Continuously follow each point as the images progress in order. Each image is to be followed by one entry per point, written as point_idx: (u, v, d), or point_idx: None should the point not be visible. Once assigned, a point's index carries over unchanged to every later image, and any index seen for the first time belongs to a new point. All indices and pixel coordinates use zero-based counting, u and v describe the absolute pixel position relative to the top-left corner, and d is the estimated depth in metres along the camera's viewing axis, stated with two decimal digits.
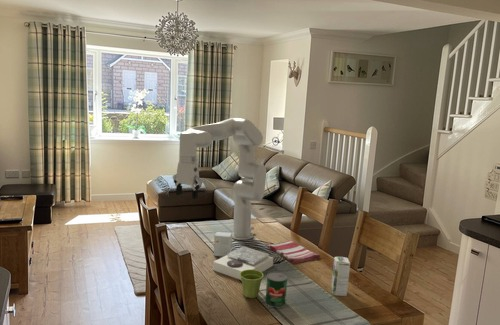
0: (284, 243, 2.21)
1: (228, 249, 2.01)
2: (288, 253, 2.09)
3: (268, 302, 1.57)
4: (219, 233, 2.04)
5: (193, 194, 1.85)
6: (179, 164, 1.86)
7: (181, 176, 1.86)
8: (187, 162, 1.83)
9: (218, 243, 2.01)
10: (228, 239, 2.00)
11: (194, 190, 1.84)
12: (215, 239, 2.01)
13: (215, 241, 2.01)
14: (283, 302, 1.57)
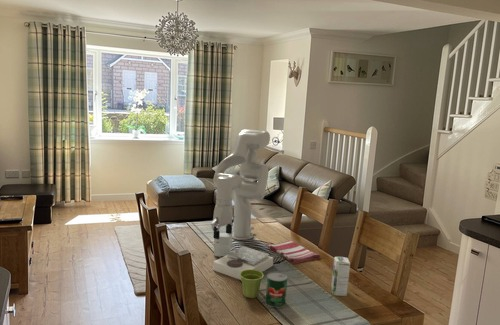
0: (284, 243, 2.21)
1: (228, 250, 2.01)
2: (288, 253, 2.09)
3: (268, 302, 1.57)
4: None
5: None
6: (224, 208, 1.96)
7: (225, 218, 1.98)
8: (231, 203, 2.00)
9: (218, 244, 2.01)
10: (228, 240, 2.00)
11: (232, 225, 2.06)
12: (215, 240, 2.01)
13: (215, 242, 2.01)
14: (283, 302, 1.57)
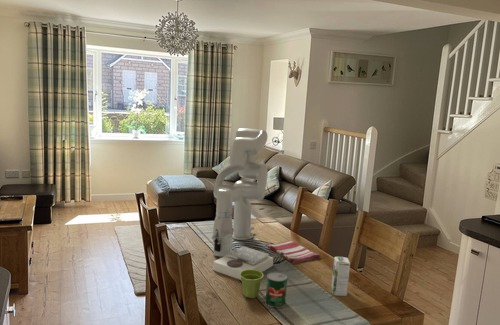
0: (284, 243, 2.21)
1: (228, 249, 2.00)
2: (288, 253, 2.09)
3: (268, 302, 1.57)
4: None
5: None
6: (223, 221, 1.98)
7: (225, 231, 2.00)
8: (231, 215, 2.02)
9: None
10: (228, 239, 2.00)
11: None
12: None
13: None
14: (283, 302, 1.57)
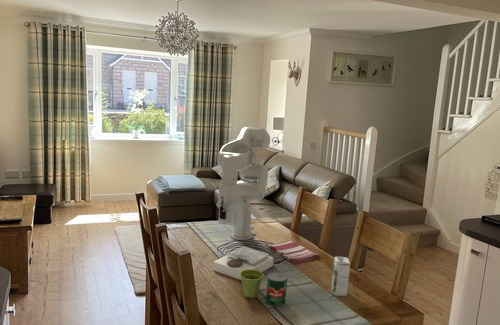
0: (284, 243, 2.21)
1: (233, 217, 1.96)
2: (288, 253, 2.09)
3: (268, 302, 1.57)
4: None
5: None
6: (229, 187, 1.93)
7: (230, 198, 1.95)
8: None
9: None
10: (233, 207, 1.95)
11: None
12: None
13: None
14: (283, 302, 1.57)
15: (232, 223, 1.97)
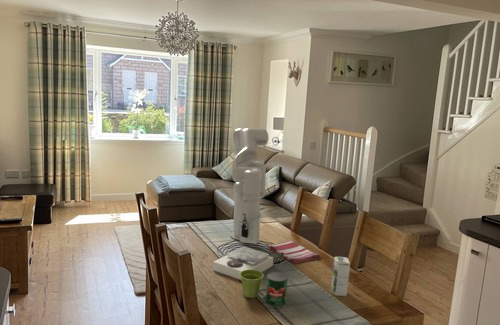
0: (284, 243, 2.21)
1: (255, 235, 1.87)
2: (288, 253, 2.09)
3: (268, 302, 1.57)
4: None
5: None
6: (251, 204, 1.85)
7: (253, 215, 1.87)
8: None
9: None
10: (255, 224, 1.86)
11: None
12: None
13: None
14: (283, 302, 1.57)
15: (254, 241, 1.88)
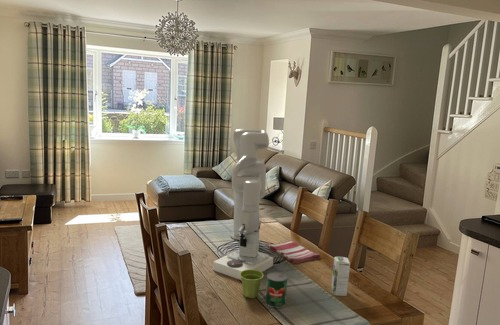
0: (284, 243, 2.21)
1: (254, 249, 1.89)
2: (288, 253, 2.09)
3: (268, 302, 1.57)
4: None
5: None
6: (251, 214, 1.85)
7: (252, 225, 1.88)
8: None
9: None
10: (254, 238, 1.88)
11: None
12: None
13: None
14: (283, 302, 1.57)
15: (253, 255, 1.89)
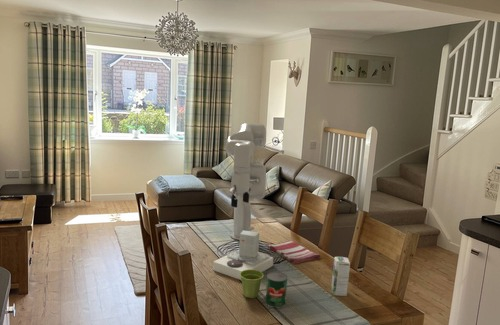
0: (284, 243, 2.21)
1: (254, 249, 1.88)
2: (288, 253, 2.09)
3: (268, 302, 1.57)
4: (245, 232, 1.92)
5: None
6: (241, 176, 1.92)
7: (243, 186, 1.94)
8: (249, 171, 1.95)
9: (244, 243, 1.89)
10: (254, 239, 1.88)
11: (249, 194, 2.01)
12: (240, 238, 1.89)
13: (240, 240, 1.90)
14: (283, 302, 1.57)
15: (253, 255, 1.89)
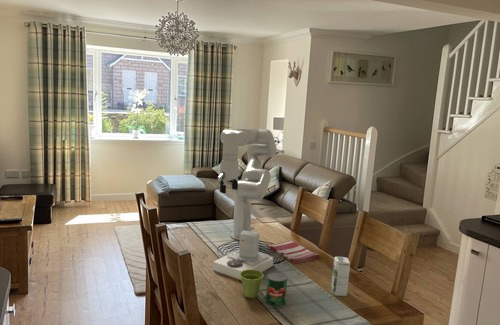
0: (284, 243, 2.21)
1: (254, 249, 1.88)
2: (288, 253, 2.09)
3: (268, 302, 1.57)
4: (245, 232, 1.92)
5: None
6: (230, 163, 2.01)
7: (231, 173, 2.03)
8: (237, 158, 2.05)
9: (244, 243, 1.89)
10: (254, 239, 1.88)
11: (238, 181, 2.10)
12: (240, 238, 1.89)
13: (240, 240, 1.90)
14: (283, 302, 1.57)
15: (253, 255, 1.89)
